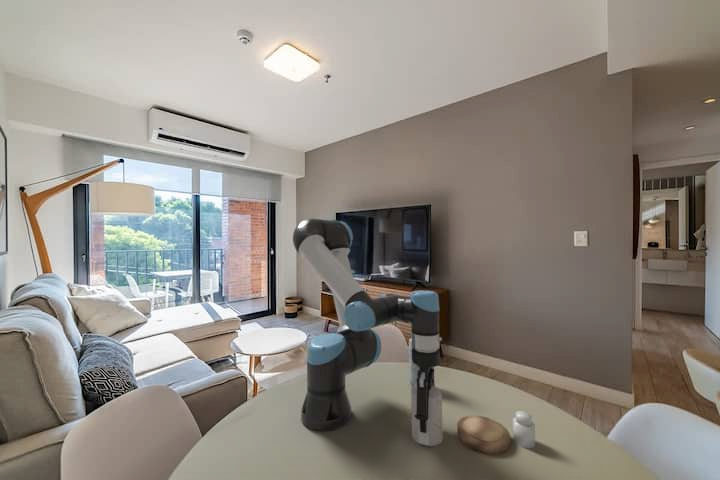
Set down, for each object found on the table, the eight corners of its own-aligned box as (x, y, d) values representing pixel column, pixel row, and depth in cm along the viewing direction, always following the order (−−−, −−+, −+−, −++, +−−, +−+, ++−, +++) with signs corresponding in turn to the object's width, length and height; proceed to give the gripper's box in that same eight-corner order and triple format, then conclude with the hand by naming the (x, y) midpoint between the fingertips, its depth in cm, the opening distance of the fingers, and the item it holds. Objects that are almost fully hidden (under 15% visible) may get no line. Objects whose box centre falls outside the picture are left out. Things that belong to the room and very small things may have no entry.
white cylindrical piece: (443, 447, 73) (443, 399, 73) (411, 443, 74) (410, 396, 75) (441, 428, 81) (440, 385, 81) (412, 424, 82) (411, 382, 83)
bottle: (405, 382, 109) (404, 329, 109) (421, 380, 111) (420, 328, 111) (414, 390, 102) (413, 334, 103) (430, 388, 104) (429, 332, 105)
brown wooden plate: (455, 446, 73) (455, 437, 73) (458, 418, 85) (458, 410, 85) (512, 460, 68) (512, 450, 68) (507, 428, 80) (507, 420, 80)
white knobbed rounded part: (514, 445, 73) (513, 417, 74) (512, 434, 78) (511, 407, 78) (537, 450, 71) (536, 422, 72) (533, 438, 76) (532, 411, 76)
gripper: (434, 364, 67) (435, 463, 66) (444, 338, 87) (445, 415, 86) (402, 359, 70) (404, 454, 69) (419, 335, 89) (420, 409, 89)
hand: (426, 432), depth 77 cm, fingers closed on white cylindrical piece, 8 cm apart
